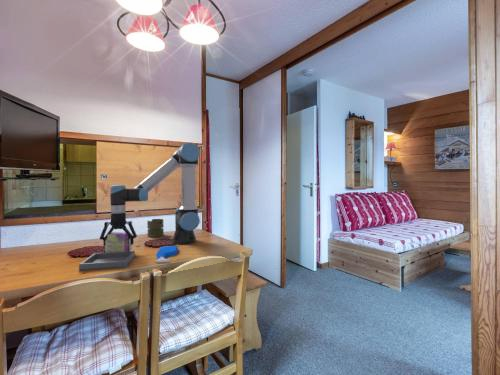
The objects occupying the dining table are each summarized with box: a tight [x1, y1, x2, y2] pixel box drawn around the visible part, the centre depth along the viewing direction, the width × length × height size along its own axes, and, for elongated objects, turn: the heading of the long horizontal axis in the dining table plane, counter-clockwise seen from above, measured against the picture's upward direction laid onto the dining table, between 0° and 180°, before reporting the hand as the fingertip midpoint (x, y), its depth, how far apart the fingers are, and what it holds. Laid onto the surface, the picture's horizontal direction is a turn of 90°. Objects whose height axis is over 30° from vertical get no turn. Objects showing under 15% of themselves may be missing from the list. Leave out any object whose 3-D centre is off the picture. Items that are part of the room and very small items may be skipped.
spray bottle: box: [154, 245, 179, 264], centre depth 139 cm, size 3×11×24 cm
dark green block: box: [146, 218, 165, 239], centre depth 190 cm, size 11×12×11 cm
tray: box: [78, 250, 136, 272], centre depth 127 cm, size 20×18×3 cm
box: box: [106, 231, 130, 253], centre depth 143 cm, size 10×6×12 cm, turn 84°
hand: (118, 250), depth 143 cm, fingers closed on box, 11 cm apart
